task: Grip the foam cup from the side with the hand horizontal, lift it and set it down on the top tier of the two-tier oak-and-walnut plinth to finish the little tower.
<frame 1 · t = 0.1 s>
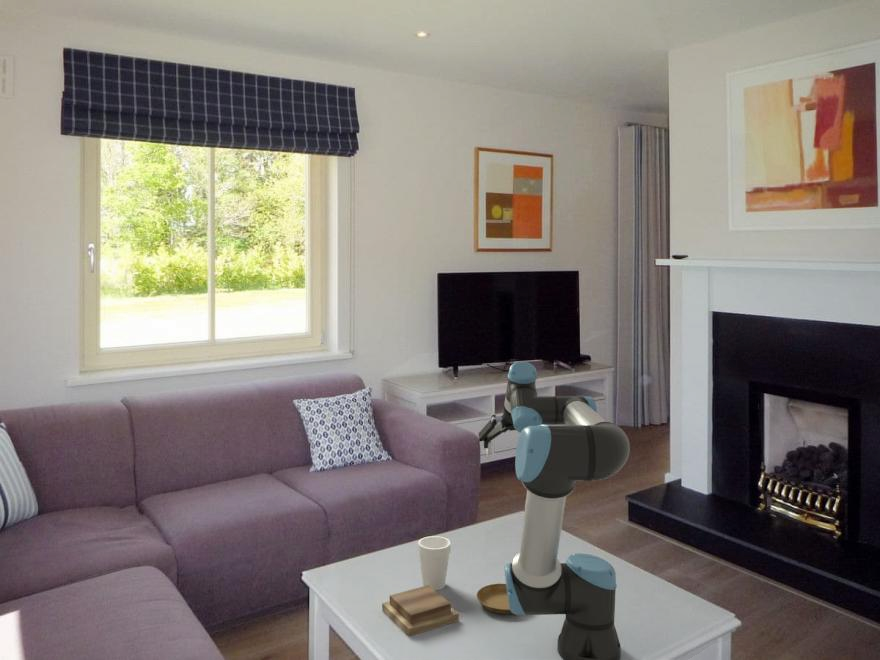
hand: (510, 453, 220), 36 cm above the table, tool tilted 35°, fingers open, 13 cm apart
foam cup: (434, 586, 211), on the table
plinth: (419, 615, 194), on the table
plant saucer: (503, 605, 201), on the table
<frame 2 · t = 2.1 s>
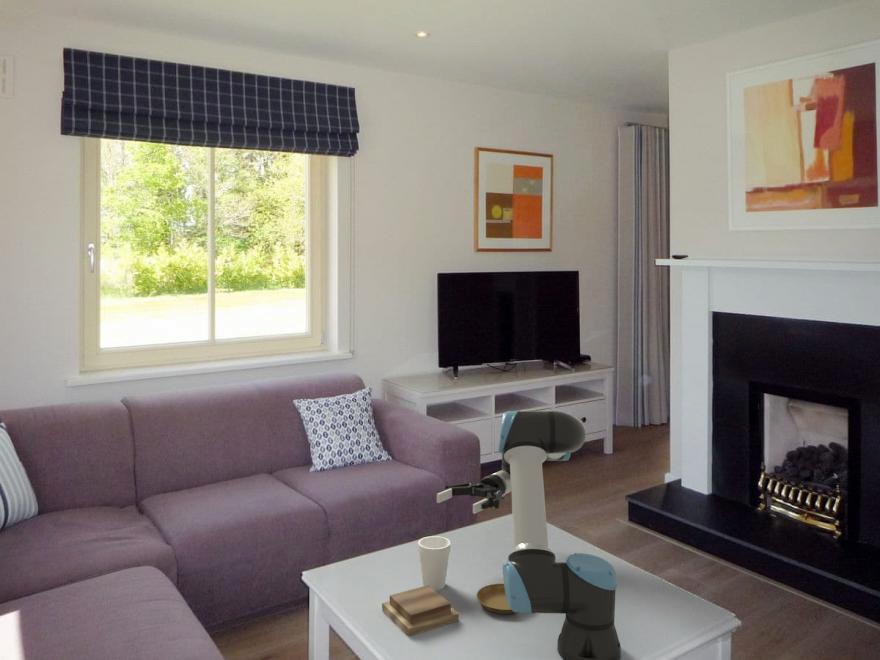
hand: (455, 503, 216), 22 cm above the table, tool horizontal, fingers open, 13 cm apart
nothing on the table moved.
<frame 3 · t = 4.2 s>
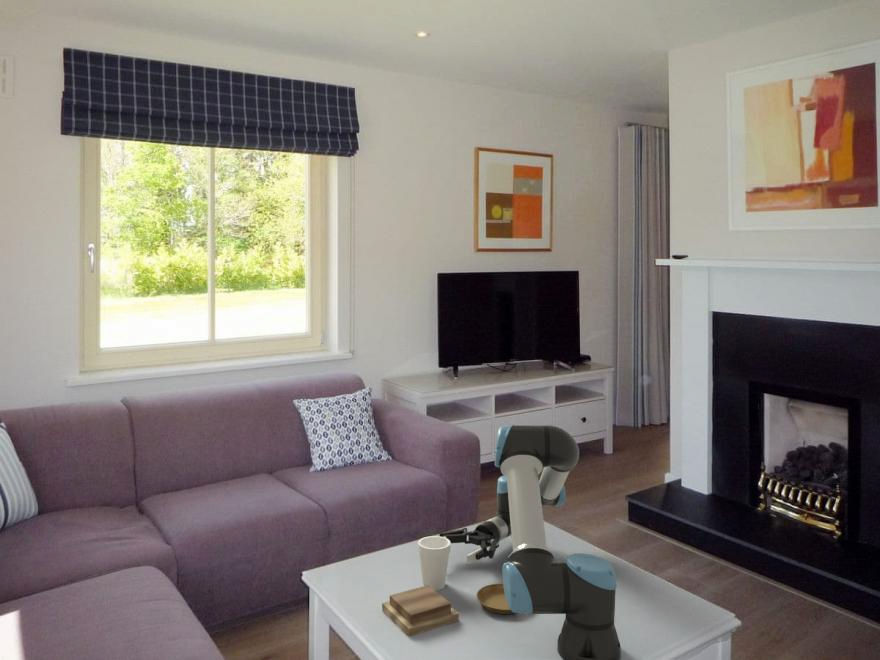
hand: (449, 553, 216), 7 cm above the table, tool horizontal, fingers open, 13 cm apart
nothing on the table moved.
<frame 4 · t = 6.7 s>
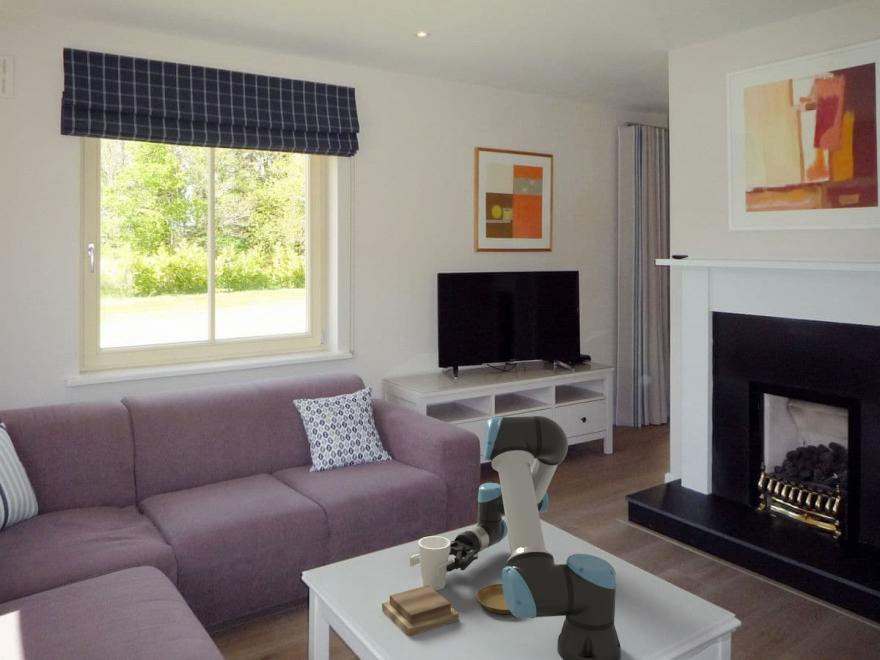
hand: (424, 566, 207), 7 cm above the table, tool horizontal, fingers closed on foam cup, 9 cm apart
foam cup: (434, 586, 211), on the table, touching gripper
everything else where it was.
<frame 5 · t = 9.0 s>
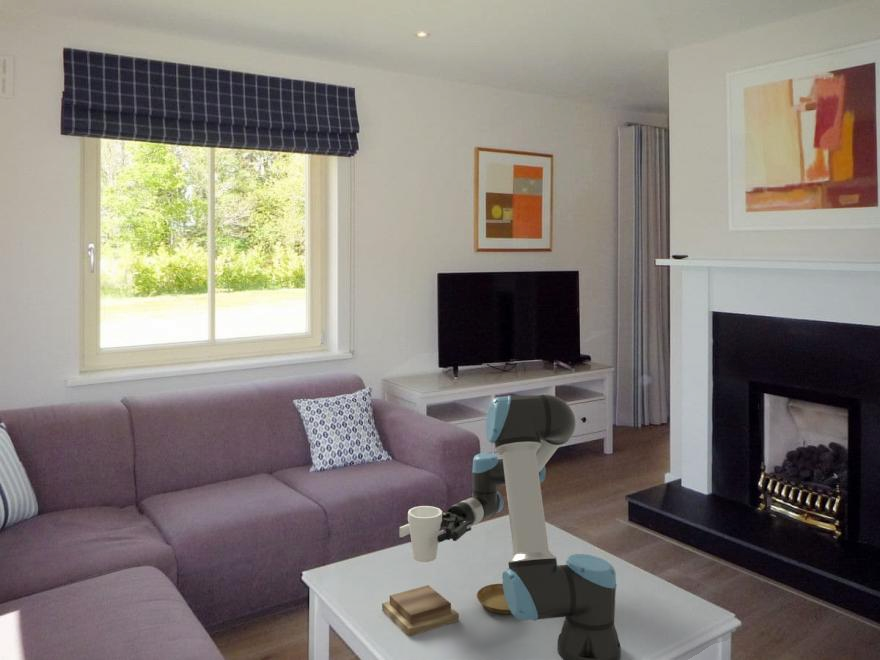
hand: (414, 537, 197), 20 cm above the table, tool horizontal, fingers closed on foam cup, 9 cm apart
foam cup: (424, 558, 201), point 12 cm above the table, touching gripper
everything else where it was.
when the fingers open (13 cm above the table, at t = 11.7 s): foam cup drops 1 cm, resting on plinth.
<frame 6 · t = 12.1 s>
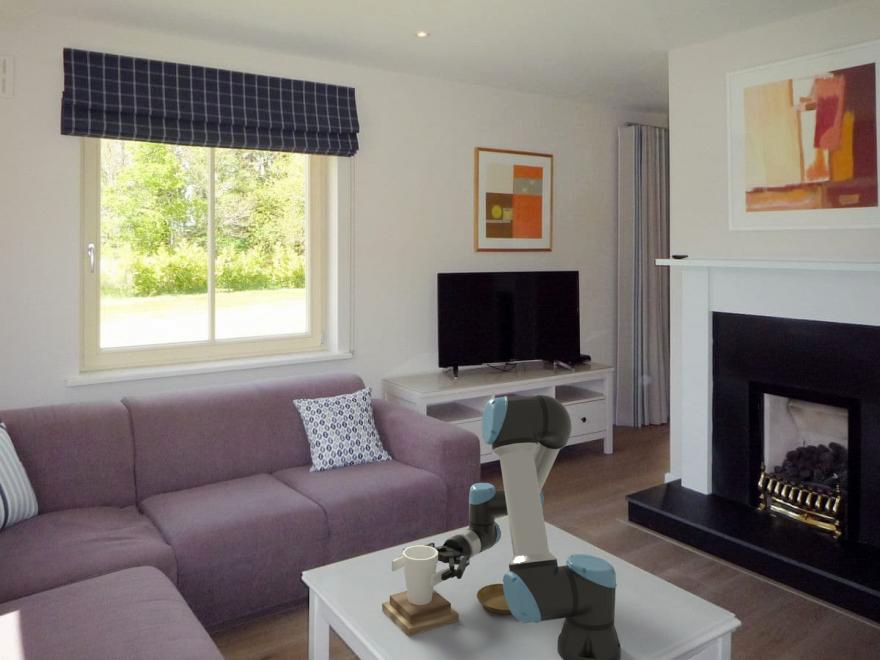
hand: (411, 573, 190), 13 cm above the table, tool horizontal, fingers open, 13 cm apart
foam cup: (420, 599, 193), point 4 cm above the table, touching plinth
everything else where it was.
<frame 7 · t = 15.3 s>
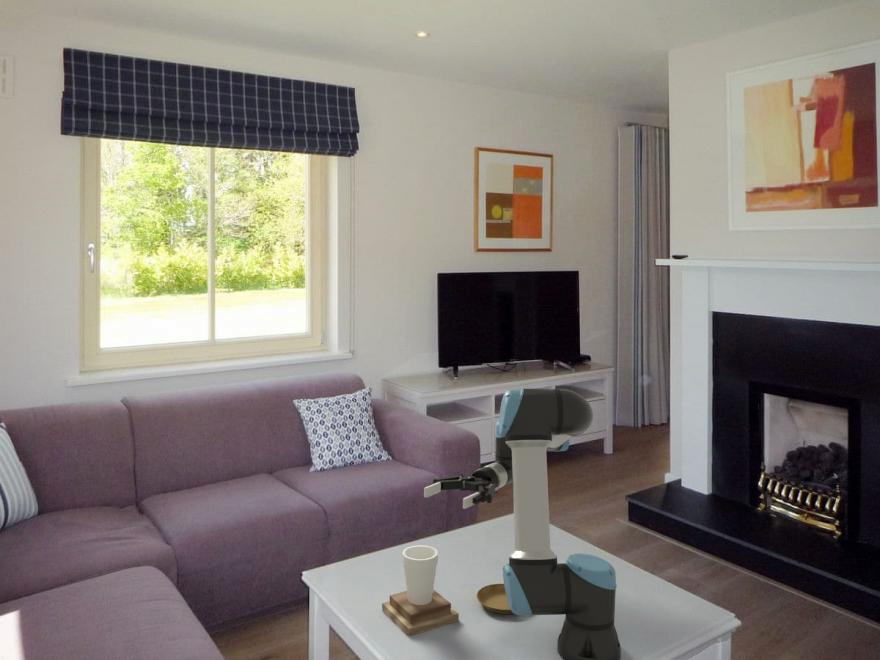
hand: (443, 498, 198), 30 cm above the table, tool horizontal, fingers open, 13 cm apart
nothing on the table moved.
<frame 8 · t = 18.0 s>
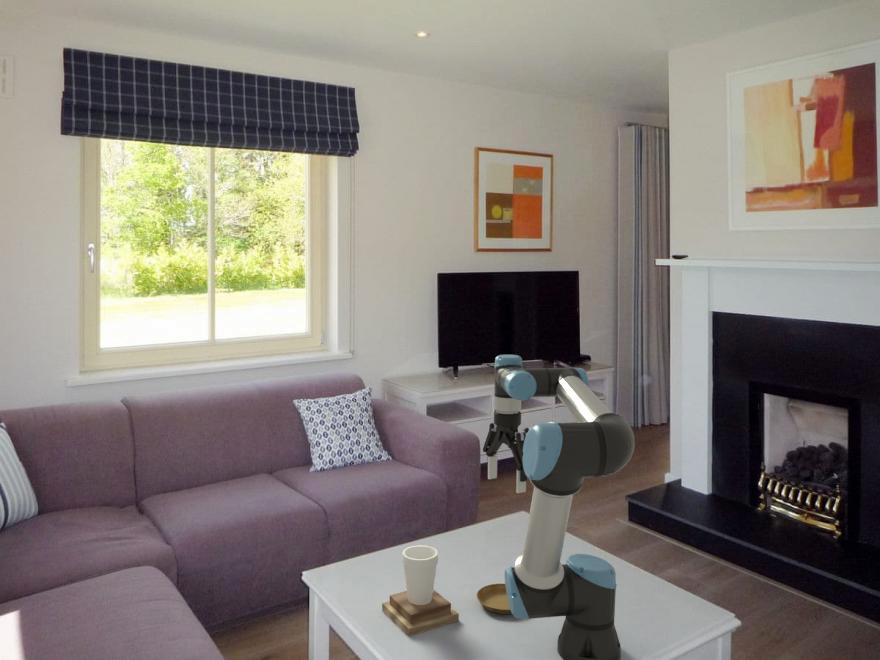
hand: (506, 485, 203), 32 cm above the table, tool pointing down, fingers open, 13 cm apart
nothing on the table moved.
at the end: foam cup inside the target area on the plinth (0.1 cm from its centre), point 4.3 cm above the plinth's base; foam cup tilted 0°; the gripper is holding nothing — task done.
